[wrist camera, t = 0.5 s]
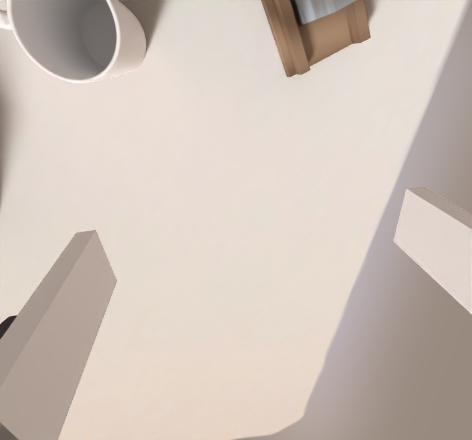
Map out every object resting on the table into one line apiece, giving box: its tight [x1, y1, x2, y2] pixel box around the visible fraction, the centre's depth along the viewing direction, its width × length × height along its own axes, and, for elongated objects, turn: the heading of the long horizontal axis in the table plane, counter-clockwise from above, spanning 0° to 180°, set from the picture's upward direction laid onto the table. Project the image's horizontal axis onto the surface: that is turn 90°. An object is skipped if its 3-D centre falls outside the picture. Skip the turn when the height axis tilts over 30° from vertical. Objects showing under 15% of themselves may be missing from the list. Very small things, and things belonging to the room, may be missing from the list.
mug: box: [0, 0, 146, 83], centre depth 23 cm, size 10×7×12 cm, turn 84°
